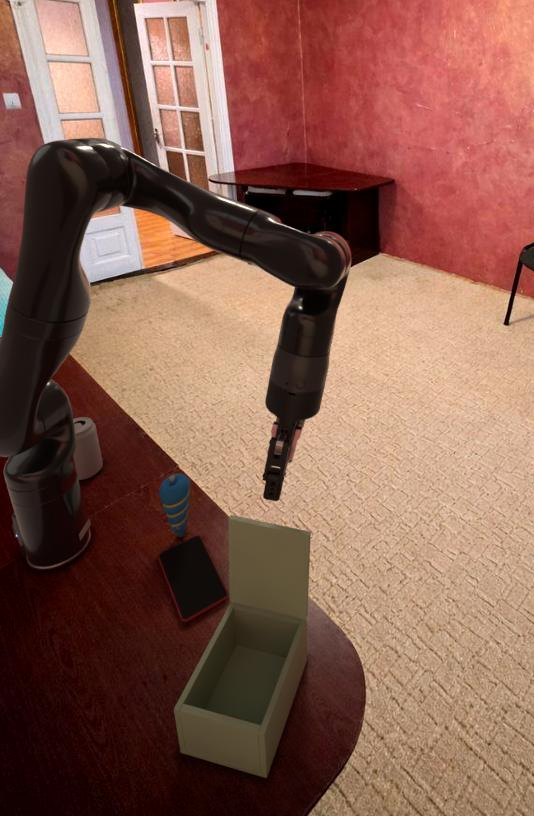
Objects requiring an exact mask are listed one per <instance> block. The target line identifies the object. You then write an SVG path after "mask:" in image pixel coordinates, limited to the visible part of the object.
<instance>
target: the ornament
mask: <svg viewBox="0 0 534 816" xmlns="http://www.w3.org/2000/svg"><path fill="white" fill-rule="evenodd" d="M190 489H191V479H190V478H189V477H188V476H187V475H185V474H182V473H171V475H170V476H168V477H166V478H165V479H164V480H163V481H162V482H161V484H160V487H159V490H158V498H159V500H160V502H161V508H162V510H163V512H164V513H165V514H166V519H167V521H168V523H169V527H170V530H171V531H172V532H173V533H174V534H175V535H177V536H178V537H179V538H183V537H184V535H185V532H186V530H187V529H186V528H187V525H188V521H189V513H188V512H189V510H190V499H191V490H190Z"/></svg>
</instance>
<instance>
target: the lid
mask: <svg viewBox="0 0 534 816" xmlns="http://www.w3.org/2000/svg"><path fill="white" fill-rule="evenodd" d="M227 523H228V524H227V529H228V530H227V531H228V532H227V536H228V579H229V580H228V582H229V583H228V584H229V586H228V588H229V602H230V603H231V602H235V603H239V604H243V605H247V606H251V607H256V608H260V609H264V610H268V611H272V612H276V613H281V614H285V615H289V616H293V617H297V618H301V619H306V620H307V617H308V614H309V590H310V589H309V587H310V564H311V563H310V562H311V561H310V560H311V559H310V558H311V533H312V532H311V531H308V530H304V529H299V528H296V527H290V526H285V525H281V524H277V523H271V522H267V521H262V520H256V519H252V518H248V517H243V516H237V515H233V514H230V515H229V517H228V519H227Z"/></svg>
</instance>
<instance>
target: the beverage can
mask: <svg viewBox="0 0 534 816" xmlns="http://www.w3.org/2000/svg"><path fill="white" fill-rule="evenodd" d="M73 421H74V428H75V436H76V448H75V452H74V455H73V456H74V461H75V466H76V471H77V475H78V480H79V481H84V480H87V479H90V478H92V477H93V476H95V475H96V474H97V473H99V471H101V470H102V468H103V465H104V463H103V457H102V453H101V447H100V441H99V435H98V432H97V431H98V430H97V426H96V423H94V421H93V419H92V418H90V417H88V416H80V417H75V418H73Z"/></svg>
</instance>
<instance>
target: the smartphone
mask: <svg viewBox="0 0 534 816" xmlns="http://www.w3.org/2000/svg"><path fill="white" fill-rule="evenodd" d="M157 560H158V562H159V564H160V567H161V570H162V572H163V575H164V578H165V580H166V583H167V586H168V588H169V591H170V593H171V597H172V599H173V601H174V604H175V607H176V610H177V612H178V615H179V618H180V620H181V621H182V622H183V623H188V622H190V621H192V620H193V619H195V618H197V617H198V616H200V615H202V614H204V613H206V612H207V611H209V610H211V609H213V608H214V607H216V606H218V605H219V604H221V603H222V602H225V601H226V600H227V599H228V597H229V591H228V589H227V587H226V584H225V582H224V581H223V579H222V577H221V575H220V573H219V570H218V568H217V566H216V565H215V562H214V559H212V556H211V554H210V552H209V550H208V548H207V546H206V544H205V542H204V540H203V538H202V536H201V535H193V536H192V537H190V538H188V539H186V540H183V541H181V542H179V543H178V544H175V545H173V546H171V547H169V548H167V549H165V550H163V551H161V552H160V553H159V554H158V556H157Z"/></svg>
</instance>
